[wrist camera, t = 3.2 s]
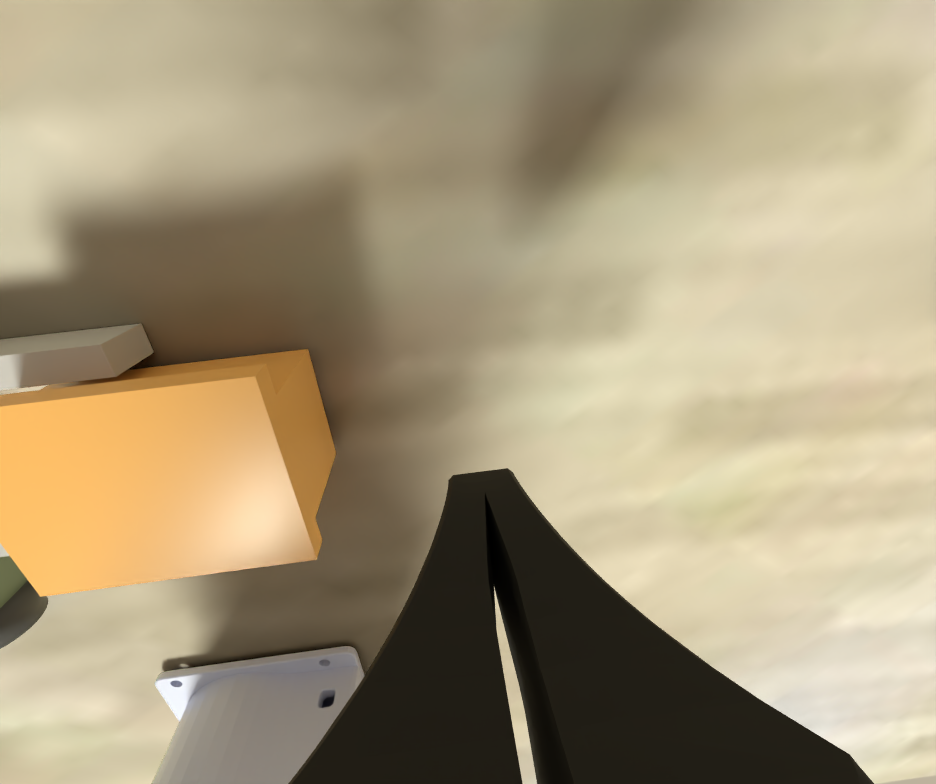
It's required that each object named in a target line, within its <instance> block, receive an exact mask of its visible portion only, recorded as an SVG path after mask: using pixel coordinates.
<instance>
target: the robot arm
mask: <svg viewBox="0 0 936 784" xmlns="http://www.w3.org/2000/svg"><path fill="white" fill-rule="evenodd" d="M494 587H495V591H496V595H497V599H498V603H499V607H500V611H501V615H502V619H503V623H504V627H505V631H506V635H507V639H508V643H509V647H510V651H511V655H512V659H513V663H514V667H515V670H516V674H517V678H518V682H519V686H520V691H521V695H522V700H523V705H524V709H525V714H526V720H527V726H528V732H529V738H530V744H531V750H532V755H533V761H534V767H535V773H536V779H537V784H874V783H873V782H872V781H871V780H870V778H869V777H868V776H867V775H866V774H865V773H864V771H863V770H862V769H861V768H860V767H859V766H858V764H857V763H856V762H855V761H854V759H853V758H852V757H851V756H850V755H849V754H848V753H846V752H845V751H843V750H841V749H840V748H838V747H836V746H835V745H833V744H832V743H830V742H828V741H827V740H825V739H823V738H822V737H820V736H818V735H817V734H815V733H814V732H812V731H810V730H809V729H807V728H805V727H804V726H802V725H800V724H799V723H797V722H796V721H794V720H792V719H791V718H789V717H787V716H786V715H784V714H782V713H781V712H779V711H778V710H776V709H774V708H773V707H771V706H769V705H768V704H766V703H765V702H763V701H761V700H760V699H758V698H757V697H755V696H754V695H752V694H751V693H749V692H748V691H746V690H745V689H744V688H742V687H741V686H739V685H738V684H736V683H735V682H733V681H732V680H730V679H729V678H727V677H726V676H724V675H723V674H722V673H720V672H719V671H717V670H716V669H714V668H713V667H711V666H710V665H709V664H707V663H706V662H705V661H703V660H702V659H701V658H699V657H698V656H697V655H695V654H694V653H693V652H691V651H690V650H689V649H687V648H686V647H685V646H683V645H682V644H681V643H679V642H678V641H677V640H675V639H674V638H673V637H671V636H670V635H669V634H667V633H666V632H665V631H663V630H662V629H661V628H659V627H658V626H657V625H655V624H654V623H653V622H652V621H650V620H649V619H648V618H647V617H646V616H644V615H643V614H642V613H641V612H640V611H638V610H637V609H636V608H635V607H634V606H632V605H631V604H630V603H629V602H628V601H626V600H625V599H624V598H623V597H622V596H621V595H620V594H619V593H618V592H616V591H615V590H614V589H613V588H612V587H611V586H610V585H609V584H607V583H606V582H605V581H604V580H603V579H602V578H601V577H600V576H599V575H598V574H597V573H596V572H595V571H594V570H593V569H592V568H591V567H590V566H589V565H588V564H587V563H586V562H585V561H584V560H583V559H582V558H581V557H580V556H579V555H578V554H577V553H576V552H575V551H574V550H573V549H572V548H571V547H570V546H569V545H568V543H567V542H566V541H565V540H564V539H563V538H562V537H561V536H560V535H559V533H558V532H557V531H556V530H555V529H554V528H553V526H552V525H551V524H550V523H549V522H548V520H547V519H546V518H545V517H544V516H543V515H542V513H541V512H540V511H539V510H538V508H537V507H536V506H535V504H534V503H533V502H532V500H531V499H530V498H529V496H528V495H527V494H526V492H525V491H524V489H523V488H522V487H521V485H520V484H519V482H518V480H517V479H516V477H515V476H514V474H513V472H512V471H510V470H509V469H508V468H507V469H499V470H491V471H483V472H475V473H467V474H459V475H453V476H452V477H451V478H450V479H449V483H448V491H447V497H446V501H445V505H444V509H443V512H442V516H441V519H440V522H439V525H438V528H437V531H436V534H435V537H434V540H433V542H432V545H431V548H430V550H429V553H428V555H427V558H426V560H425V562H424V565H423V567H422V569H421V572H420V574H419V576H418V579H417V581H416V583H415V586H414V588H413V590H412V592H411V594H410V596H409V598H408V600H407V602H406V604H405V606H404V608H403V610H402V612H401V614H400V616H399V618H398V619H397V621H396V623H395V625H394V627H393V629H392V631H391V632H390V634H389V636H388V638H387V639H386V641H385V643H384V644H383V646H382V648H381V649H380V651H379V653H378V655H377V656H376V658H375V660H374V661H373V663H372V665H371V666H370V668H369V670H368V671H367V673H366V674H365V675H364V672H363V669H362V666H361V663H360V660H359V657H358V653H357V651H356V649H355V648H353V647H350V646H342V647H335V648H328V649H320V650H313V651H306V652H299V653H292V654H285V655H278V656H271V657H264V658H256V659H249V660H242V661H235V662H228V663H221V664H214V665H207V666H200V667H192V668H185V669H178V670H171V671H165V672H162V673H160V674H159V676H158V678H157V679H156V681H155V686H156V688H157V689H158V690H159V692H160V693H161V695H162V696H163V698H164V699H165V701H166V702H167V704H168V705H169V707H170V708H171V710H172V711H173V713H174V714H175V716H176V717H177V719H178V720H179V724H178V726H177V728H176V731H175V733H174V735H173V737H172V739H171V742H170V744H169V746H168V748H167V751H166V753H165V755H164V757H163V759H162V762H161V764H160V766H159V768H158V770H157V773H156V775H155V777H154V779H153V781H152V784H522V778H521V773H520V767H519V761H518V756H517V750H516V744H515V738H514V733H513V727H512V721H511V715H510V709H509V703H508V697H507V691H506V685H505V680H504V674H503V668H502V662H501V655H500V649H499V643H498V637H497V631H496V615H495V598H494Z"/></svg>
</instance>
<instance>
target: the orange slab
mask: <svg viewBox="0 0 936 784" xmlns="http://www.w3.org/2000/svg"><path fill="white" fill-rule="evenodd" d="M335 456H336V451H335V447H334V444H333V440H332V436H331V432H330V429H329V425H328V421H327V418H326V414H325V410H324V406H323V403H322V399H321V395H320V392H319V388H318V384H317V380H316V377H315V373H314V369H313V366H312V362H311V358H310V354H309V351H308V349H303V350H295V351H286V352H278V353H269V354H261V355H252V356H243V357H235V358H226V359H218V360H209V361H201V362H192V363H184V364H175V365H166V366H158V367H149V368H141V369H132V370H126V371H124V372H123V373H121V374H120V375H118V376H117V377H110V378H101V379H93V380H84V381H76V382H67V383H59V384H50V385H48V386H46V387H44V388H43V389H41V390H38V391H29V392H21V393H12V394H4V395H0V544H1V545H2V546H3V548H4V549H5V550H6V552H7V553H8V554H9V556H10V557H11V558H12V560H13V561H14V562H15V564H16V565H17V566H18V568H19V569H20V570H21V572H22V573H23V574H24V576H25V577H26V578H27V580H28V581H29V582H30V584H31V585H32V586H33V588H34V589H35V590H36V592H37V593H38V594H39V596H40V597H42V596H50V595H57V594H65V593H72V592H80V591H87V590H95V589H102V588H110V587H117V586H125V585H132V584H140V583H147V582H155V581H162V580H170V579H177V578H185V577H192V576H199V575H207V574H214V573H222V572H229V571H237V570H244V569H252V568H259V567H267V566H274V565H282V564H289V563H297V562H304V561H312V560H317V557H318V554H319V550H320V547H321V543H322V537H321V534H320V531H319V528H318V525H317V522H316V519H315V518H316V514H317V511H318V508H319V505H320V502H321V499H322V496H323V493H324V490H325V487H326V484H327V481H328V478H329V474H330V471H331V468H332V465H333V462H334V459H335Z"/></svg>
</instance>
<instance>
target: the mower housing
mask: <svg viewBox="0 0 936 784" xmlns="http://www.w3.org/2000/svg"><path fill="white" fill-rule="evenodd" d="M152 353H154V351H153V349H152V347H151V344H150V342H149V340H148V337H147V335H146V333H145V331H144V328H143V326H142V324H132V325H123V326H114V327H105V328H97V329H88V330H79V331H70V332H61V333H52V334H44V335H35V336H26V337H17V338H8V339H0V390H8V389H16V388H25V387H33V386H42V385H50V384H59V383H67V382H76V381H84V380H93V379H101V378H110V377H117V376H118V375H120V374H121V373H123V372H124V371H126V370H127V369H129V368H131V367H132V366H134V365H135V364H137V363H138V362H140V361H141V360H143V359H145V358H146V357H148V356H149V355H151V354H152ZM47 605H48V598H47V596H42V597H40V596H39V594H38V593H37V592H36V590H35V589H34V588H33V586H32V585H31V584H30V582H29V581H28V580H27V578H26V577H25V576H24V574H23V573H22V572H21V570H20V569H19V568H18V566H17V565H16V564H15V562H14V561H13V560H12V558H11V557H10V556H9V554H8V553H7V552H6V550H5V549H4V548H3V546H2V545H1V544H0V649H1V648H3V647H4V646H6V645H8V644H9V643H11V642H12V641H14V640H15V639H17V638H18V637H19V636H21V635H22V634H23V633H25V632H26V631H27V630H28V629H29V628H30V627H32V626H33V625H34V624H35V623H36V622H37V621H38V619H39V618H40V617H41V616H42V614H43V613H44V611H45V609H46V608H47Z"/></svg>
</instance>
